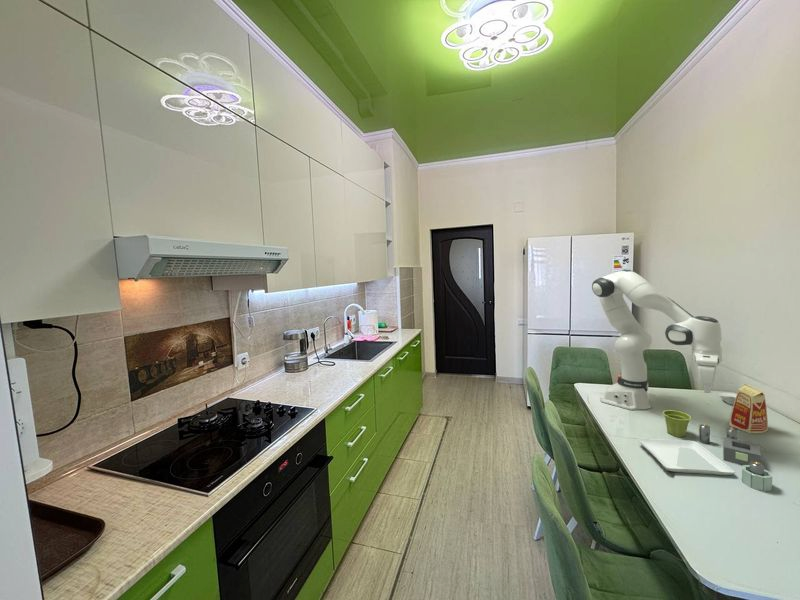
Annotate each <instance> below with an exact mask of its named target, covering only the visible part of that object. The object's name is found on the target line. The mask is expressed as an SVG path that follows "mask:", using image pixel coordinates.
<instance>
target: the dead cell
mask: <svg viewBox="0 0 800 600" xmlns="http://www.w3.org/2000/svg"><path fill="white" fill-rule="evenodd" d="M764 469H765V465H764V464H763V463H761V462H760V463H759V462H754V461H751V462H750V472H751V473H753V474H756V475H760V476H764Z"/></svg>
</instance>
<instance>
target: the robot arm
mask: <svg viewBox="0 0 800 600" xmlns="http://www.w3.org/2000/svg"><path fill="white" fill-rule="evenodd" d="M591 290H592V293H594V295H595V296H596V297H598V298H599V301H600V304H601V307H602V309H603V312H604V314H605V315H606V318H607V320H608V321H609V324H610V326H612V327H613V328H614V329H615V330H616V331H617V332H618V333H619V334H620V335H619V337H618V338H617V339H616V340H615V343H614V348H615V350H616V352H617V353H618V356H619V361H620V367H621V368H620V371H621V372H620V373H621V374H618V375H617V376H616V377H617V378H616V383H613V384H611V385H610V386H607V387H606V389H605V392H604V393H603V394H601V395H600V396H599V401H600V402H601V403H604V404H607V405H612V406H614V407H617V408H618V407H619V408H623V409H626V410H629V411H636V410H647V409H648V410H649V409H650V408H651V407H652V405H651V403H650V402H651V401H650V398H649V395H648V394H649V393H648V390H649V381H648V368H647V367H648V366H647V363H646V362H645V358H644V351H646V350H647V349H649V347H650V346H651V344H652V342H653V338H652V336H651V334H650V333H648V331H646V330H645V329H644V328H643V326H641V324H640V323H639V322H638V321H637V320H636V318H635V316H634V314H633V313H632V311H631V309H630V307H629V305H628V303H627V302H626V300H625V298H624V296H625V297H626V298H627V299H628V300H629V301H630V302H631V303H632V304H634V305H635V306H636V307H638V308H643V309H646V310H647V309H649V310H655V311H659V312H661V313H664V314H665V315H666V316H668V317H669V318H670V319H671V320H673V321H674V322H675V323H673V324H670V325H668V326H667V327H666V329H665V330H664V331H665V332H664V335H665V338H666V339H667V341H668V342H669V343H670V344H672V345H675V346H691V353H692V355H691V356H692V358H691V359H692V360H693V361H694V362H695V365H696V366H697V370H698V377H699V382H700V384H702V385H703V390H704V391H703V392H704V393H705V394H711V388H712V386H714V383H715V376H716V370H717V367H719V364H720V363H721V362H723V354H722V352H723V351H722V350H723V349H722V346H721V341H722V328H721V324H720V322H719V320H717V319H715V317H710V316H704V315H698V316H697V315H696V316H694V315H693V314H691V313H690V312H688V311H687V310H685V309H684V308H683V307H682V306H681V305H679V304H678V303H677V302H675V301H674V300H673V299H671V298H670V297H668V296H667V295H665V294H664V293H662V292H660V290H658V289H657V288H656V287H654V286H653V285H652V284H651V283H650V282H649V281H648V280H646V279H645V278H644V277H642V276H641V275H640V274H638V273H636V272H635V271H633V270H631V269H622V270H620V271H615V272H611V273H609V274H607V275H605V276H601V277H599V278H596V279H595V280H593V282H592V284H591Z"/></svg>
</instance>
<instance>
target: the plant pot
mask: <svg viewBox="0 0 800 600" xmlns="http://www.w3.org/2000/svg"><path fill="white" fill-rule="evenodd" d="M662 415H663V416H664V420H665V425H666V432H667V433H668V434H669V435H672V436H675V437H677V438H678V437H679V438H683V437H686V435H687V430H688V427H689V426H688V425H689V423H690V420H691V419H692V417H691V415H690V414H687V413H685V412H682V411H678V410H673V409H667V410H663V411H662Z"/></svg>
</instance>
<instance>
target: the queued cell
mask: <svg viewBox="0 0 800 600" xmlns="http://www.w3.org/2000/svg"><path fill="white" fill-rule="evenodd" d="M725 437H727V438H731V439H736V440H739V429H737V428H735V427H726V436H725Z"/></svg>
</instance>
